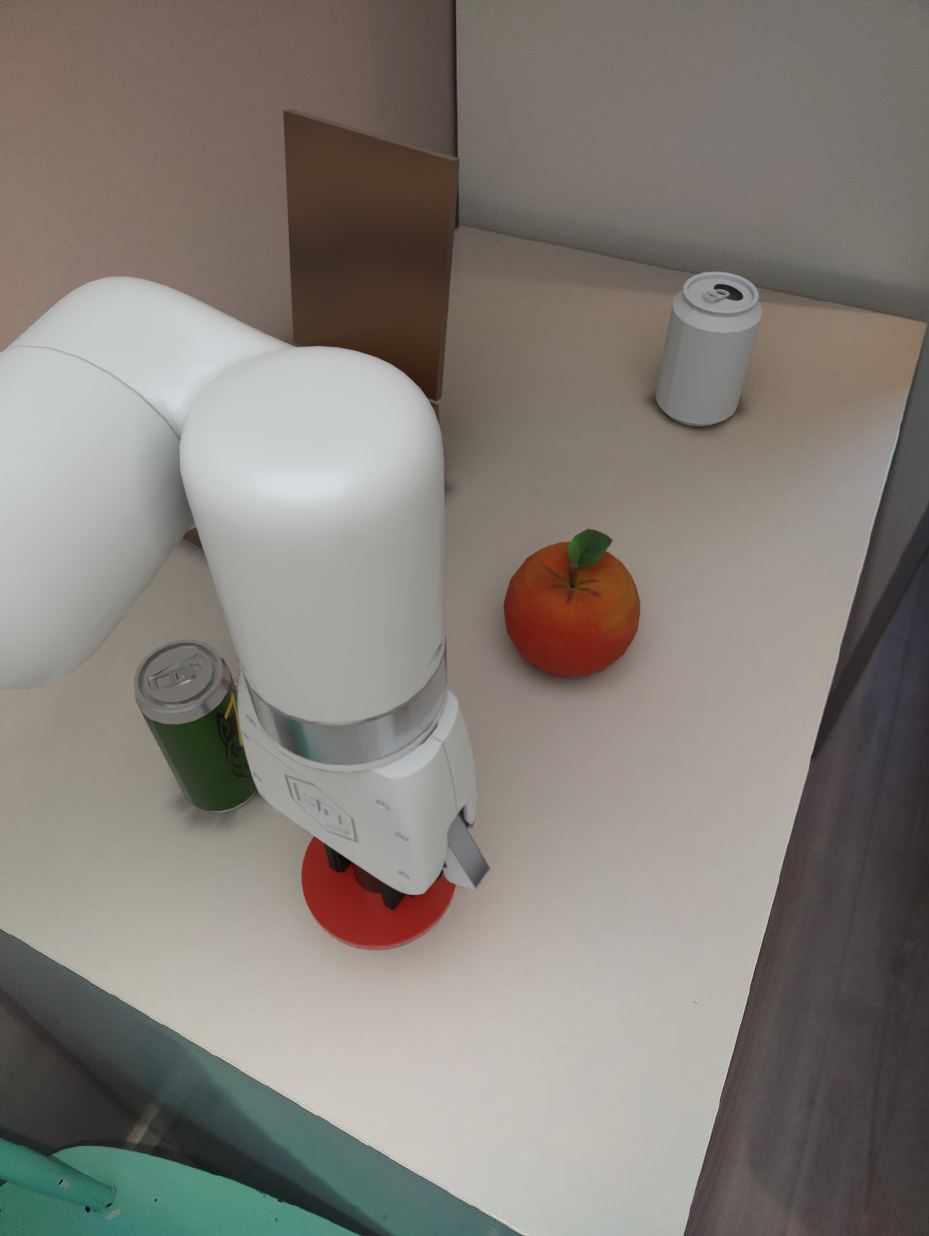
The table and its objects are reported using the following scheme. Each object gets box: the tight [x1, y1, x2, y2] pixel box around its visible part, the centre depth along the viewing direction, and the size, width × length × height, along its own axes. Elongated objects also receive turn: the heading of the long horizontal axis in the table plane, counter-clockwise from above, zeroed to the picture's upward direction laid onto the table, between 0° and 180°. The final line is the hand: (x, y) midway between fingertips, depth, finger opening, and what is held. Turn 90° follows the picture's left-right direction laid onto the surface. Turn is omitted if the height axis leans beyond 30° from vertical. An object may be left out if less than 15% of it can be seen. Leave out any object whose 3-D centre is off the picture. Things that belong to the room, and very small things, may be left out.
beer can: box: [133, 639, 258, 813], centre depth 55 cm, size 5×5×12 cm
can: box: [655, 271, 763, 428], centre depth 79 cm, size 8×8×12 cm
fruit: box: [502, 528, 641, 678], centre depth 63 cm, size 10×10×10 cm
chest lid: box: [282, 108, 460, 402], centre depth 67 cm, size 17×15×1 cm
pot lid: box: [300, 835, 457, 951], centre depth 47 cm, size 8×8×6 cm
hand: (379, 865), depth 48 cm, fingers closed on pot lid, 2 cm apart
